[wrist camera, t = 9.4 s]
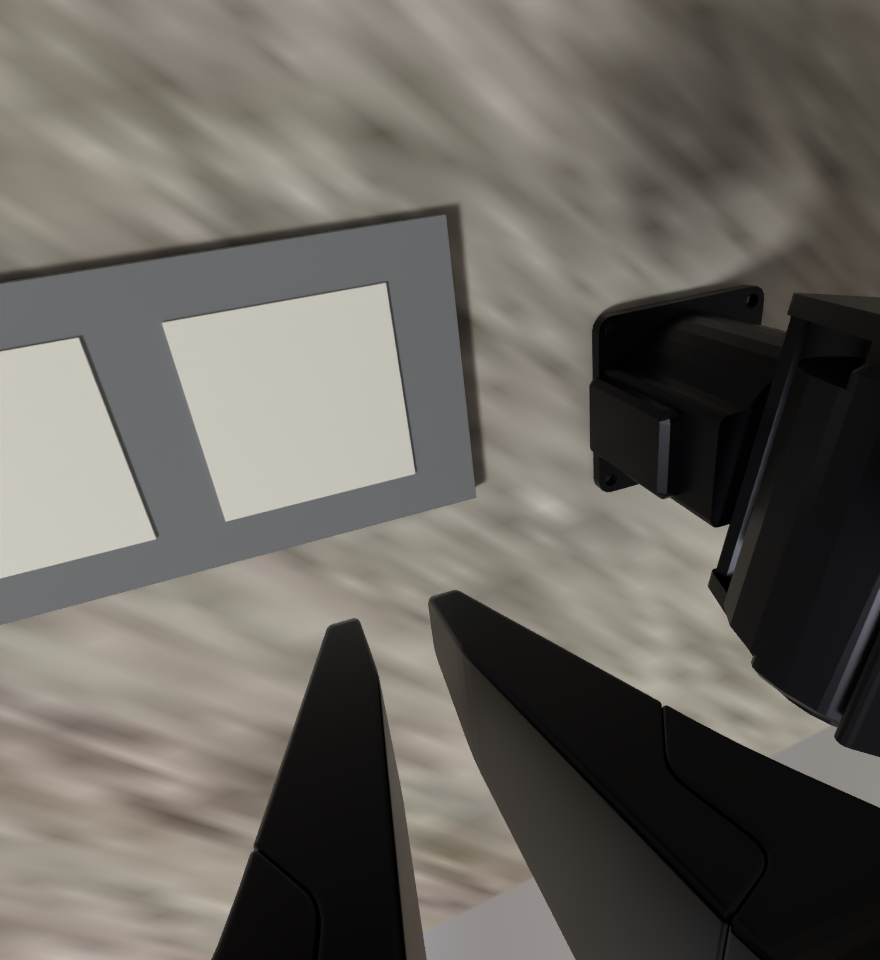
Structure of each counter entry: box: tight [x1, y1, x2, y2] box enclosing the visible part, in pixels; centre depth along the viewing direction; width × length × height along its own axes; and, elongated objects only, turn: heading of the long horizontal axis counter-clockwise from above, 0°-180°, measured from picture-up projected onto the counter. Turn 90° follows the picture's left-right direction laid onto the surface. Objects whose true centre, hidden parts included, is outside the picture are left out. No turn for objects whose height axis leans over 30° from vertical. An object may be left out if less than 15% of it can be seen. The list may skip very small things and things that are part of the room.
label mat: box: [0, 214, 476, 625], centre depth 18 cm, size 18×9×1 cm, turn 97°
